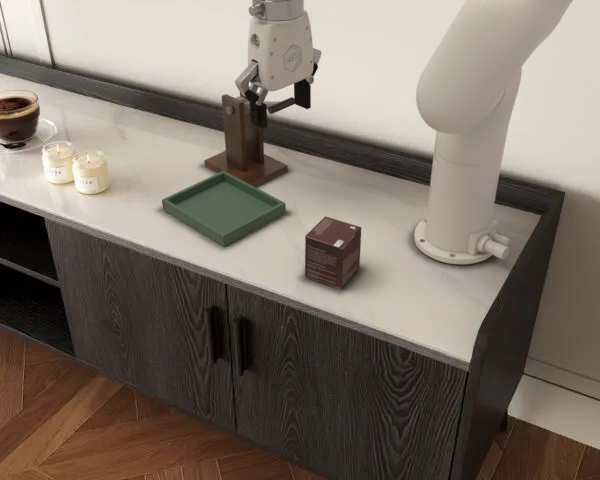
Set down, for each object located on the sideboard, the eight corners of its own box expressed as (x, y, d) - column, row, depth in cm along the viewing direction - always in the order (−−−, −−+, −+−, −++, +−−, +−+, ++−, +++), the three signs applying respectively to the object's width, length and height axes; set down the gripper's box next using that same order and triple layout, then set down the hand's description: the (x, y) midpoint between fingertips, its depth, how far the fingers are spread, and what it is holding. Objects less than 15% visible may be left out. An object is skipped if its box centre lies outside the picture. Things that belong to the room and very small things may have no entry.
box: (324, 256, 114) (325, 214, 109) (360, 268, 111) (362, 226, 107) (304, 278, 110) (303, 235, 105) (340, 290, 107) (342, 248, 103)
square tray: (285, 213, 123) (285, 202, 122) (224, 247, 116) (223, 236, 115) (224, 180, 132) (223, 170, 130) (163, 210, 124) (161, 199, 123)
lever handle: (296, 108, 122) (293, 93, 120) (274, 118, 119) (270, 103, 118) (249, 107, 130) (246, 93, 129) (227, 116, 127) (223, 102, 126)
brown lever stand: (287, 171, 134) (286, 97, 125) (250, 190, 129) (245, 114, 120) (242, 149, 140) (237, 77, 132) (204, 166, 136) (197, 92, 127)
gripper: (251, 27, 104) (257, 141, 114) (337, -3, 113) (335, 106, 124) (215, 14, 108) (224, 126, 119) (301, -13, 117) (302, 92, 128)
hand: (281, 115), depth 121 cm, fingers open, 9 cm apart
